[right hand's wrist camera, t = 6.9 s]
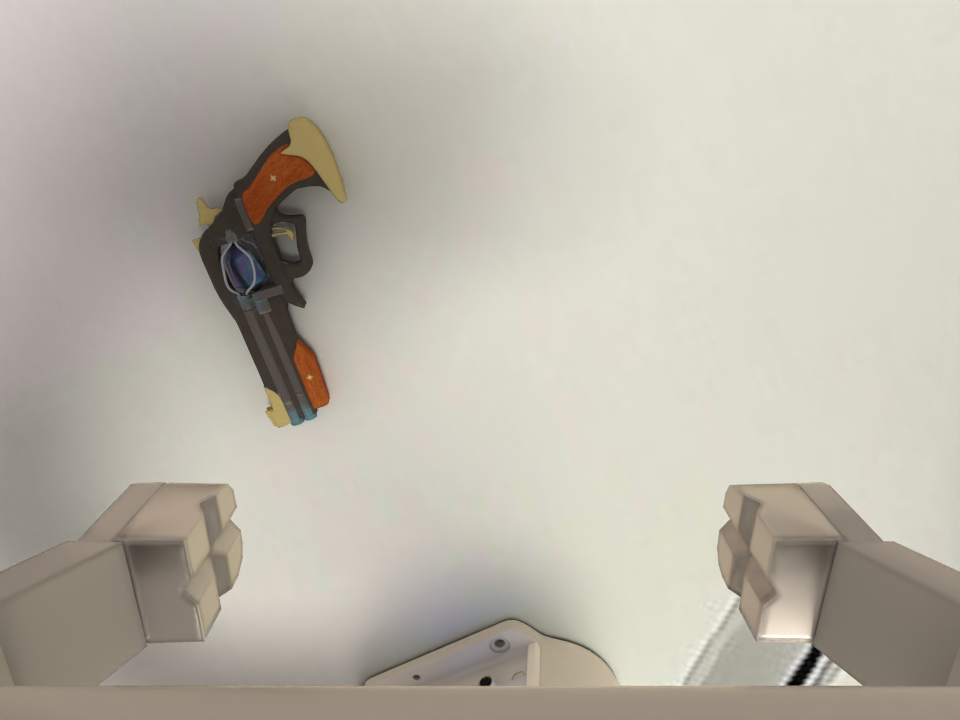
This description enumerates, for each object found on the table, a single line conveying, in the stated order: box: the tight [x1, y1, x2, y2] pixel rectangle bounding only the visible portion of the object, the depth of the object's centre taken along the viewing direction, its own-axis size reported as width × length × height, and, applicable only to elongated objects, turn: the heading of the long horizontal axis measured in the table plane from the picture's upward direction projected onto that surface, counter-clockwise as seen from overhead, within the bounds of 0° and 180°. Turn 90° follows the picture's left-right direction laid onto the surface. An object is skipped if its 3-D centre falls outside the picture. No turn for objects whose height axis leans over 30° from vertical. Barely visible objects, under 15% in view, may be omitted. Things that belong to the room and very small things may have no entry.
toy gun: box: [192, 117, 347, 427], centre depth 41 cm, size 3×19×10 cm
